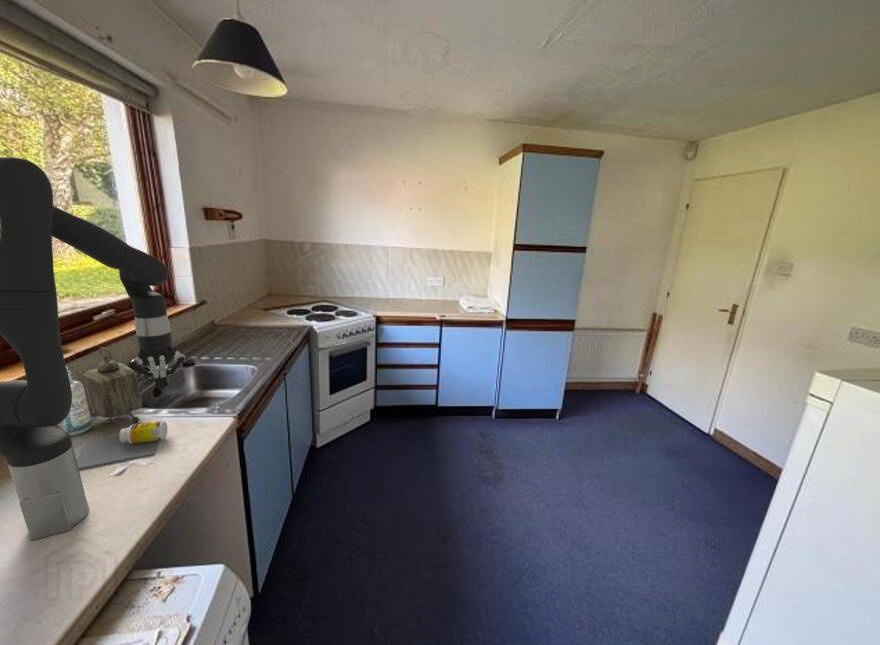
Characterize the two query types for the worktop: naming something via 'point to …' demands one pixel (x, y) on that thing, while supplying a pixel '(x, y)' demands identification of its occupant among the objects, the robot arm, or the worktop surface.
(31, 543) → the worktop surface
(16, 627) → the worktop surface
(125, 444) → the mat
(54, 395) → the robot arm
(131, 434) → the supplement bottle
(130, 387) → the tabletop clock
